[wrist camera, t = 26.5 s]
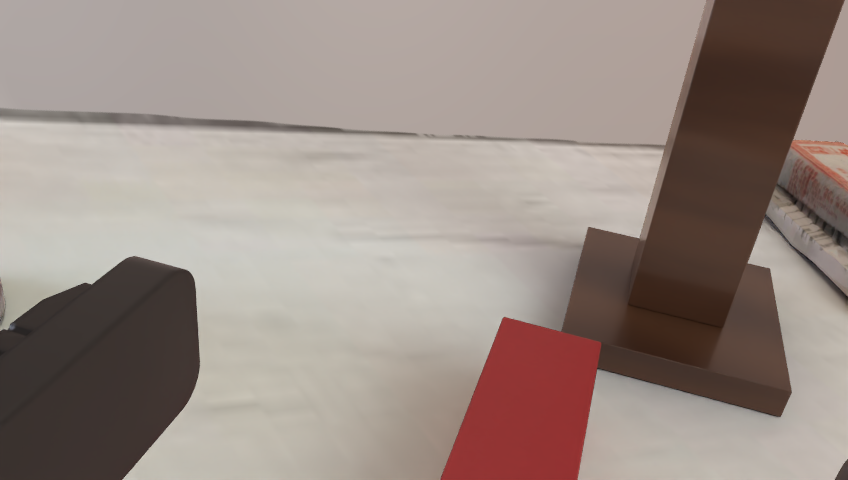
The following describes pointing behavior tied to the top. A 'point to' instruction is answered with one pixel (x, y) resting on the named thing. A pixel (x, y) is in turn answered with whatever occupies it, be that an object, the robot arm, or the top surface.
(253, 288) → the top surface
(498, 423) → the long red slab
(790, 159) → the packaged product
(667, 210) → the wooden lectern
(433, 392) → the top surface
